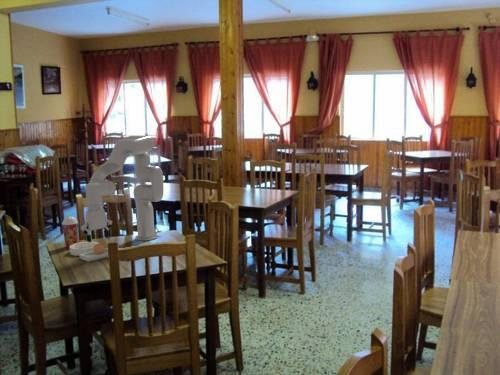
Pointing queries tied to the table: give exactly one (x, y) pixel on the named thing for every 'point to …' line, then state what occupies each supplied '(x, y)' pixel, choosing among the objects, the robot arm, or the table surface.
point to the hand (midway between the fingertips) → (98, 239)
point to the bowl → (82, 247)
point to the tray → (93, 256)
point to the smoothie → (70, 230)
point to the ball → (99, 249)
